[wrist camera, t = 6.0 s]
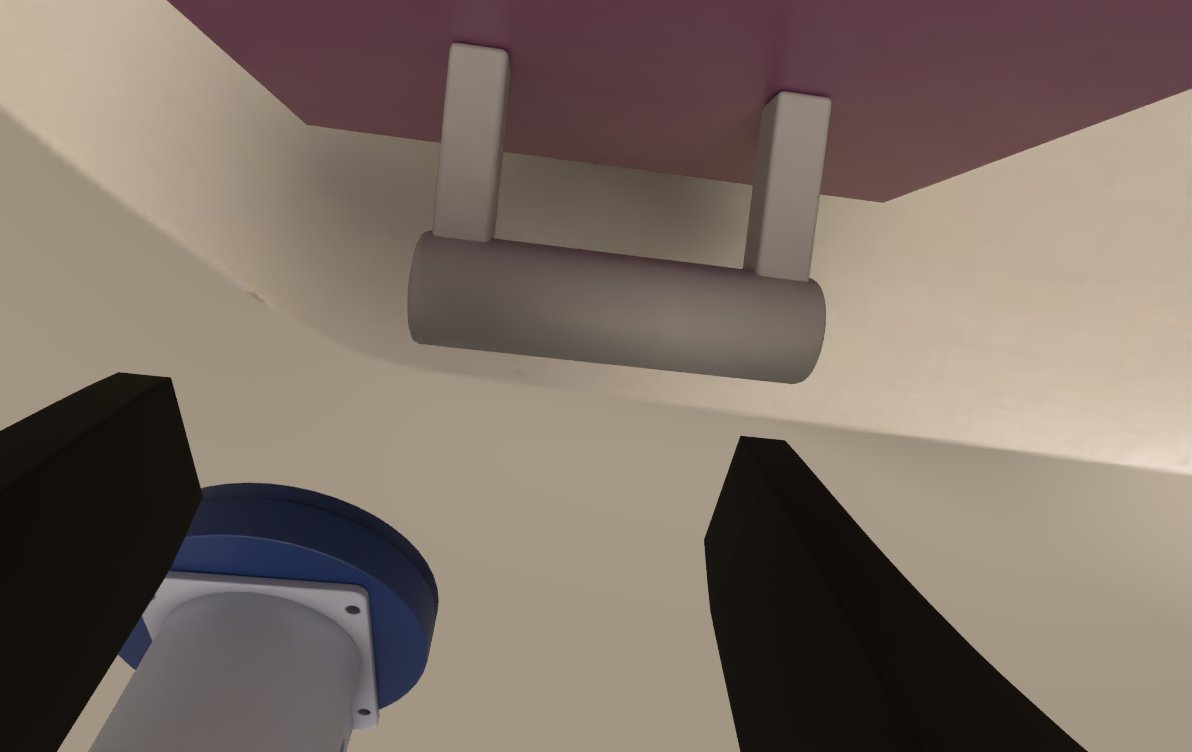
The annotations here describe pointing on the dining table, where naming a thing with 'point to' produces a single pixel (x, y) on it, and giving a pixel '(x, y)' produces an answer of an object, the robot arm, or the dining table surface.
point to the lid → (689, 137)
